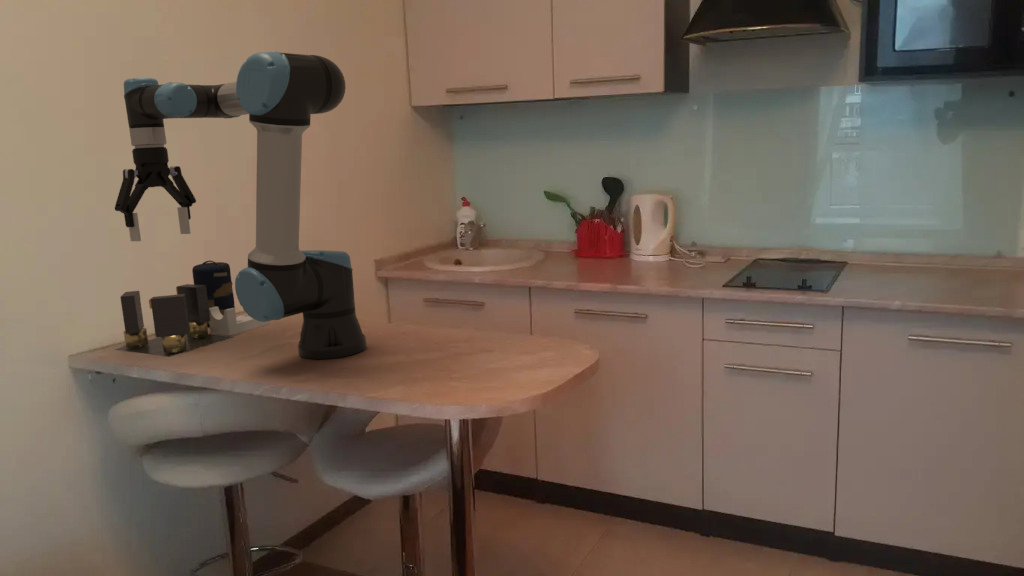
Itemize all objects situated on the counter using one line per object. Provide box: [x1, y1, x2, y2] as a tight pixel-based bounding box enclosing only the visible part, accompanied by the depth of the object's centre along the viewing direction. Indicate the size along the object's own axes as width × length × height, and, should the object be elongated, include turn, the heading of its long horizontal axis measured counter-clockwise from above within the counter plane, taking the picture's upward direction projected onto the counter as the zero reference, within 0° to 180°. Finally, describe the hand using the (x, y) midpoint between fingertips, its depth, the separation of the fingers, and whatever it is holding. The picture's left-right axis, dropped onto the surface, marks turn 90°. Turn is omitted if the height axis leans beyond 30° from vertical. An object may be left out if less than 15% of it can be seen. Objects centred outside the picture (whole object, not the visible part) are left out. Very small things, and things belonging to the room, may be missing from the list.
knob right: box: [175, 283, 210, 338], centre depth 198 cm, size 7×5×13 cm
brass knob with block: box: [119, 290, 149, 348], centre depth 191 cm, size 7×5×13 cm
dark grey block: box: [148, 294, 190, 353], centre depth 184 cm, size 7×5×13 cm
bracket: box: [209, 307, 270, 336], centre depth 205 cm, size 13×7×8 cm, turn 150°
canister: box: [191, 260, 236, 328], centre depth 212 cm, size 10×10×18 cm
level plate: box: [114, 333, 235, 358], centre depth 193 cm, size 20×19×2 cm
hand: (161, 237), depth 189 cm, fingers open, 13 cm apart
